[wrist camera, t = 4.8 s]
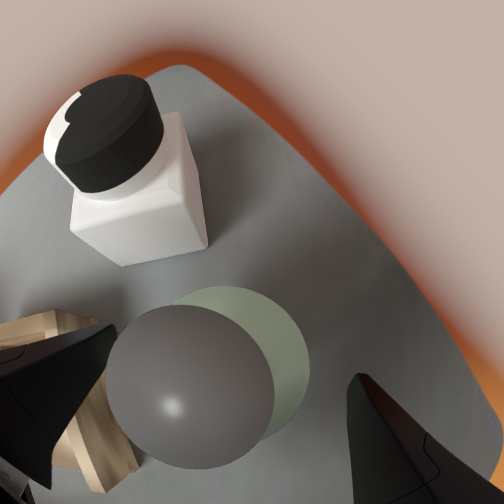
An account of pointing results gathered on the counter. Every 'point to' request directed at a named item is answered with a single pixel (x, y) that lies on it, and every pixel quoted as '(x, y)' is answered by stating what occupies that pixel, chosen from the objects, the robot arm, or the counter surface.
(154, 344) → the green bottle
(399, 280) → the counter surface
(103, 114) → the medicine bottle
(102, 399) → the open wooden box
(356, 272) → the counter surface
